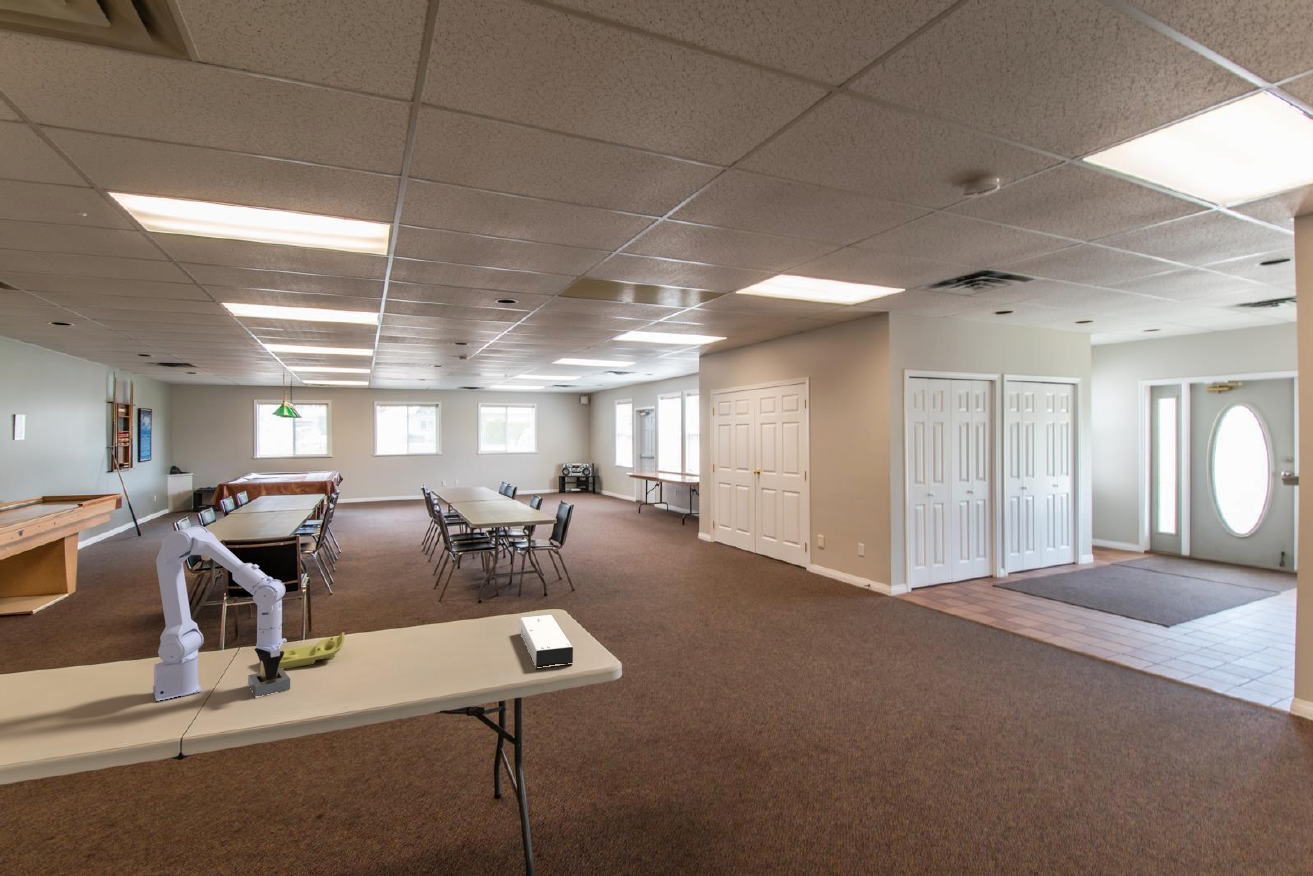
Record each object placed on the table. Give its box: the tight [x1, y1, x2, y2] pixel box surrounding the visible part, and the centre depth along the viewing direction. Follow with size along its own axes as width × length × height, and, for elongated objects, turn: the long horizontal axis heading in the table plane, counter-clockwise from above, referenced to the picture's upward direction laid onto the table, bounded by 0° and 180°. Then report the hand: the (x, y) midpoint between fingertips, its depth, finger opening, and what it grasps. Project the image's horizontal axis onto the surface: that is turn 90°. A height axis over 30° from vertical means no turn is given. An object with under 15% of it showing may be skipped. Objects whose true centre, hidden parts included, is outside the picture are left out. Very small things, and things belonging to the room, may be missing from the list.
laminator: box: [519, 614, 574, 668], centre depth 203 cm, size 34×12×6 cm, turn 21°
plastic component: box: [278, 632, 345, 669], centre depth 189 cm, size 20×7×10 cm
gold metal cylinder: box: [259, 660, 278, 682], centre depth 169 cm, size 4×4×7 cm
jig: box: [247, 668, 291, 697], centre depth 169 cm, size 8×10×3 cm
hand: (269, 675), depth 169 cm, fingers closed on gold metal cylinder, 4 cm apart
